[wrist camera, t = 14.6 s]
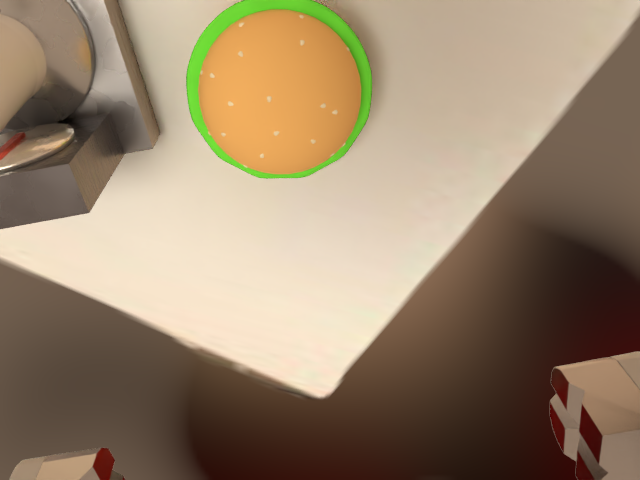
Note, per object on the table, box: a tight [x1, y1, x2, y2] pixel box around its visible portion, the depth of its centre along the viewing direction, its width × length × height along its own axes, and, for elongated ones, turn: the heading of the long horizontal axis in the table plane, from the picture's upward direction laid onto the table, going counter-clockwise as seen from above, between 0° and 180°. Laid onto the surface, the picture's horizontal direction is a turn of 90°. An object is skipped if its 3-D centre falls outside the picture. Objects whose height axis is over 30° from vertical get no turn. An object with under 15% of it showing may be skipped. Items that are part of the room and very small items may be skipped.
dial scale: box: [0, 0, 160, 229], centre depth 34 cm, size 13×13×12 cm
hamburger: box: [186, 0, 372, 178], centre depth 37 cm, size 12×12×9 cm
